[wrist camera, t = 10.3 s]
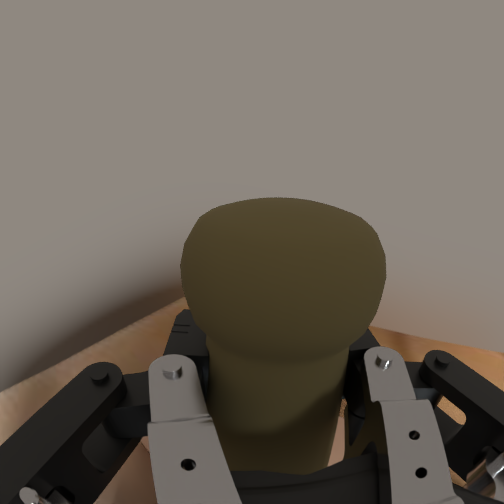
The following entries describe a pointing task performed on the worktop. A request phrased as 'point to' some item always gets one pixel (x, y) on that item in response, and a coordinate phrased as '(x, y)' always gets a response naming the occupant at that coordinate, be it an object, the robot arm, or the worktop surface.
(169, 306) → the worktop surface
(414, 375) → the robot arm
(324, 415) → the cork
